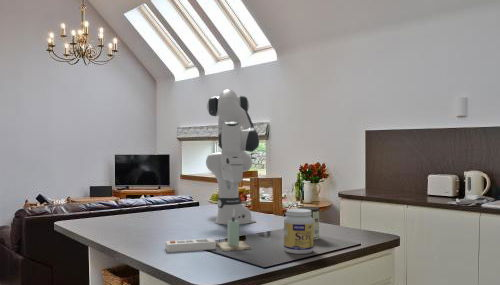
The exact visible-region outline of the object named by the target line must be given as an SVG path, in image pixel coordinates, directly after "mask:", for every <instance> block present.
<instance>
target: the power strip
mask: <svg viewBox="0 0 500 285" xmlns="http://www.w3.org/2000/svg"><path fill="white" fill-rule="evenodd" d="M216 243H217V241H215V240H214V239H213V238H196V239H195V238H194V239H179V240H165V245H164V246H165V247H164V248H165V250H166V252H167V253H176V252H192V251H203V250H204V251H207V250H216V249H217V245H216Z"/></svg>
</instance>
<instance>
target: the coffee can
mask: <svg viewBox="0 0 500 285" xmlns="http://www.w3.org/2000/svg"><path fill="white" fill-rule="evenodd" d="M296 209H308V210H311V214H312V215H311V217H312V218H313V221H314V222H313V241H314V240H315V239H316V240H318V239H320V207H317V206H310V205H309V206H298V207H297V208H296ZM316 240H315V241H316Z"/></svg>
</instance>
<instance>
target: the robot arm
mask: <svg viewBox="0 0 500 285" xmlns="http://www.w3.org/2000/svg"><path fill="white" fill-rule="evenodd" d="M206 109H207V112H208V114H209V115H210V116H212V117H218V122H217V124H218V125H217V127H218V129H217V130H218V131H217V132H218V133H217V136H218V139H217V140H218V144H217V146H218V148H220V149H221V151H220V152H219V151H217V152H212V153H209V154H208V155H207V157H206V159H205V166H206V168H207V169H208V171H210V172H211V173H212V174H213V175H214V177H215V178H216V180H217V187H218V197H217V207H218V208H217V215H216V220H215V223H216V224H218V225H227V226H228V221H230V220H232V217H235V220H237V221H239V226H240V225H246V224H252V223H256V219H254V218H252V212H251V211H250V209H249V208H247V207H246V206H245V205H244V204H243V202H244V203H245V201H246V200H245V197H240V196H239V194H240V193H239V189H240V187H239V183H242V181H243V176H244V175H243V173H245V172H248V171H250V169H251V168H252V165H253V159H252V156H251V155H250V154H249V153H247V152H250V153H251V152H255V151H256V150H257V149H258V148H259V146H260V136H259V133H258V132H257V130H256V129H255V126H254V124H253V121H252V119H251V116H250V114H249V113H248V112H249V109H250V103H249V100H248V97H246V96H245V95H238V94H237V93H236V92H235V91H234V90H233V89H224V90H222V92H220V94H219V96H212V97H210V98H209V99H208V100H207V103H206ZM241 128H243V129H241Z"/></svg>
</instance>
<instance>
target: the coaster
mask: <svg viewBox="0 0 500 285" xmlns="http://www.w3.org/2000/svg"><path fill="white" fill-rule="evenodd" d="M216 247H218V248H219V249H220V250H223V251H222V252H227V251H229V252H230V251H231V250H232V251H243V250H244V249H247V250H251V249H252V247H251V245H249V244H247V243H246V242H245V241H243V240H239V245H236V246H229V245H228V244H227V241H222V242H221V241H219V242H217V241H216ZM232 251H231V252H232Z"/></svg>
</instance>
